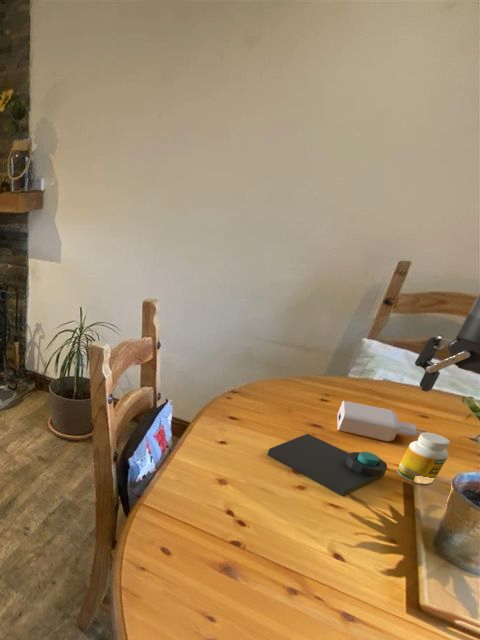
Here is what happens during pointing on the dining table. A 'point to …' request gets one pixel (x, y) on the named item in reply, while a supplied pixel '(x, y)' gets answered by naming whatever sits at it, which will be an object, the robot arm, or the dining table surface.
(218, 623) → the dining table surface
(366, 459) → the tare button
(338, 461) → the scale
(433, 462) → the supplement bottle
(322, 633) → the dining table surface
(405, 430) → the charger
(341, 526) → the dining table surface
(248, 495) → the dining table surface
